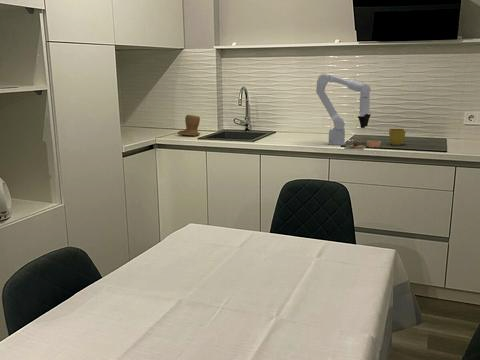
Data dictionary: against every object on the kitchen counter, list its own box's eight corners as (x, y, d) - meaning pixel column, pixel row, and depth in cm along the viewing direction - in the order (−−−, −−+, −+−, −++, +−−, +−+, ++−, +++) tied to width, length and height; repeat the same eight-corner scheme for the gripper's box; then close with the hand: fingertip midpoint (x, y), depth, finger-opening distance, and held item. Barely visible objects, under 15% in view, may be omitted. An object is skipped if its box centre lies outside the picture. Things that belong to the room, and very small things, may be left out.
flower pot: (404, 145, 286) (405, 130, 284) (389, 145, 288) (390, 130, 286) (403, 143, 295) (403, 128, 293) (388, 143, 297) (388, 128, 295)
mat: (344, 148, 281) (344, 147, 281) (348, 145, 291) (348, 145, 291) (363, 149, 277) (363, 149, 277) (366, 146, 286) (366, 145, 286)
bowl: (365, 147, 285) (366, 142, 284) (368, 145, 292) (368, 140, 291) (379, 147, 282) (379, 142, 281) (381, 145, 288) (381, 140, 288)
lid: (347, 147, 281) (347, 141, 280) (349, 145, 289) (349, 139, 288) (362, 148, 278) (362, 141, 277) (364, 146, 286) (364, 139, 285)
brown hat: (204, 135, 347) (203, 114, 344) (194, 137, 337) (193, 115, 334) (186, 133, 355) (186, 113, 351) (177, 136, 345) (175, 115, 341)
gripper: (369, 105, 281) (368, 128, 285) (373, 103, 294) (373, 125, 297) (356, 105, 284) (356, 128, 288) (361, 103, 297) (361, 125, 300)
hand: (364, 127), depth 293 cm, fingers open, 7 cm apart
